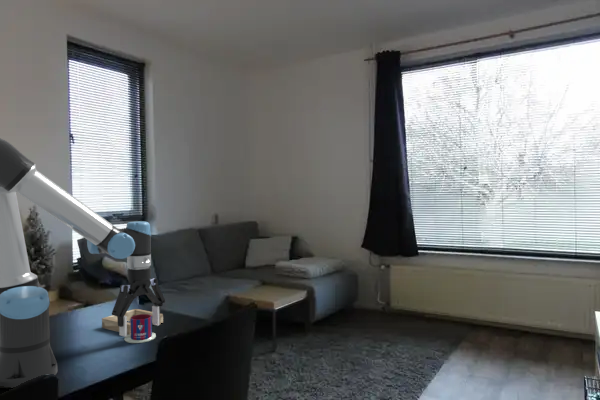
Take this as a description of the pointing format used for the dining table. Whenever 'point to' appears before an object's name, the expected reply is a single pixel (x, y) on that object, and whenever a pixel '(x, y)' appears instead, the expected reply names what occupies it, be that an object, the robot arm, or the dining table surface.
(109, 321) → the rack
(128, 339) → the white round flat disc
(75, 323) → the dining table surface
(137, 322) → the mug
